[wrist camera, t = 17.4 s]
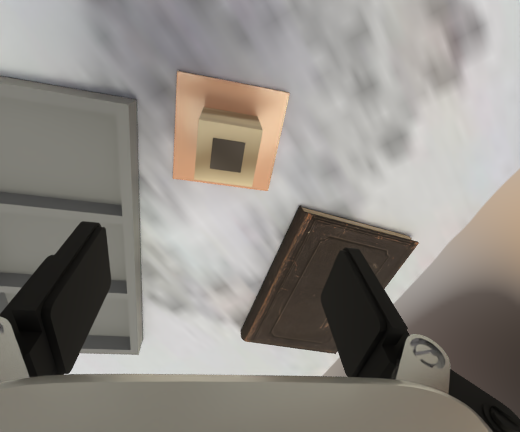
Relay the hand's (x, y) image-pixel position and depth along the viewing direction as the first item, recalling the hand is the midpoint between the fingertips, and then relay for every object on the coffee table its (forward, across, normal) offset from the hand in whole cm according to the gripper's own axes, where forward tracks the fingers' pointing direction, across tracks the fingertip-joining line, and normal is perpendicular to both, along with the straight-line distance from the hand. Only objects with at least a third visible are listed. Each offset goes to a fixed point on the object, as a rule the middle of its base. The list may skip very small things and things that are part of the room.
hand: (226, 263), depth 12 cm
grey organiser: (+19, +17, +16) cm, 30 cm away
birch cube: (+19, 0, 0) cm, 19 cm away
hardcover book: (+20, -16, +20) cm, 32 cm away
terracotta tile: (+19, 0, +1) cm, 19 cm away
